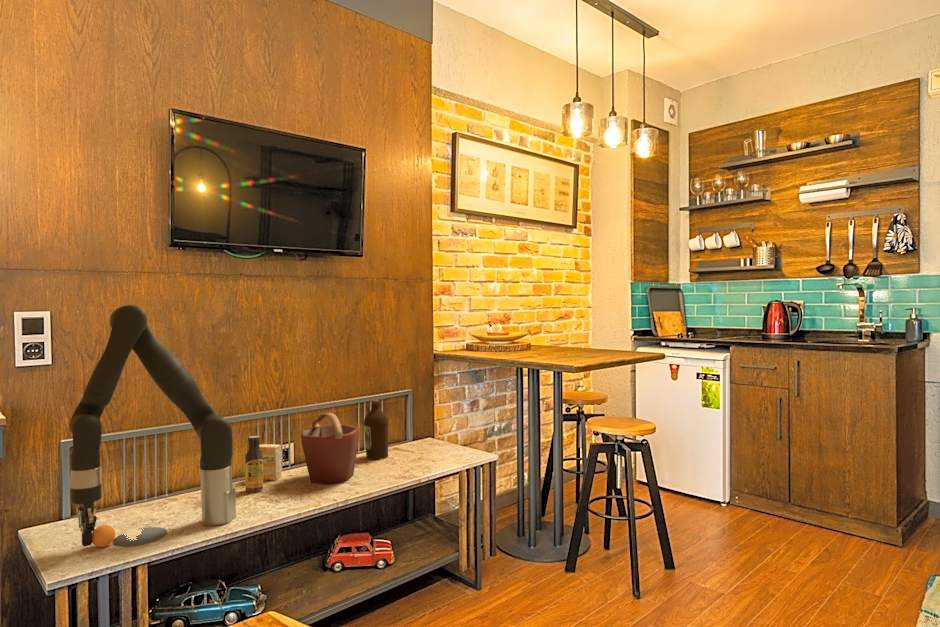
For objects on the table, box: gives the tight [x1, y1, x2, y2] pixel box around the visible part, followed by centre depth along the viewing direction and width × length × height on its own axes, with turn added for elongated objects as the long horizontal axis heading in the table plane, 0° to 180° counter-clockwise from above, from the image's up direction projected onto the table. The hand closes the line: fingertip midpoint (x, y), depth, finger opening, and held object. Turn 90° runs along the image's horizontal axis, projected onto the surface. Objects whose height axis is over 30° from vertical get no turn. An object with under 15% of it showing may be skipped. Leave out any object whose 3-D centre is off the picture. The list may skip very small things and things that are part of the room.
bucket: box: [300, 412, 360, 486], centre depth 234 cm, size 24×22×25 cm
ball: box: [92, 524, 116, 548], centre depth 173 cm, size 6×6×6 cm
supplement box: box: [259, 443, 283, 481], centre depth 235 cm, size 8×5×13 cm, turn 81°
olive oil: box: [363, 399, 389, 461], centre depth 263 cm, size 11×11×25 cm
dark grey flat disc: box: [112, 526, 168, 547], centre depth 179 cm, size 14×14×1 cm
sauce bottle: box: [244, 435, 264, 493], centre depth 220 cm, size 6×6×20 cm
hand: (86, 545), depth 170 cm, fingers closed
